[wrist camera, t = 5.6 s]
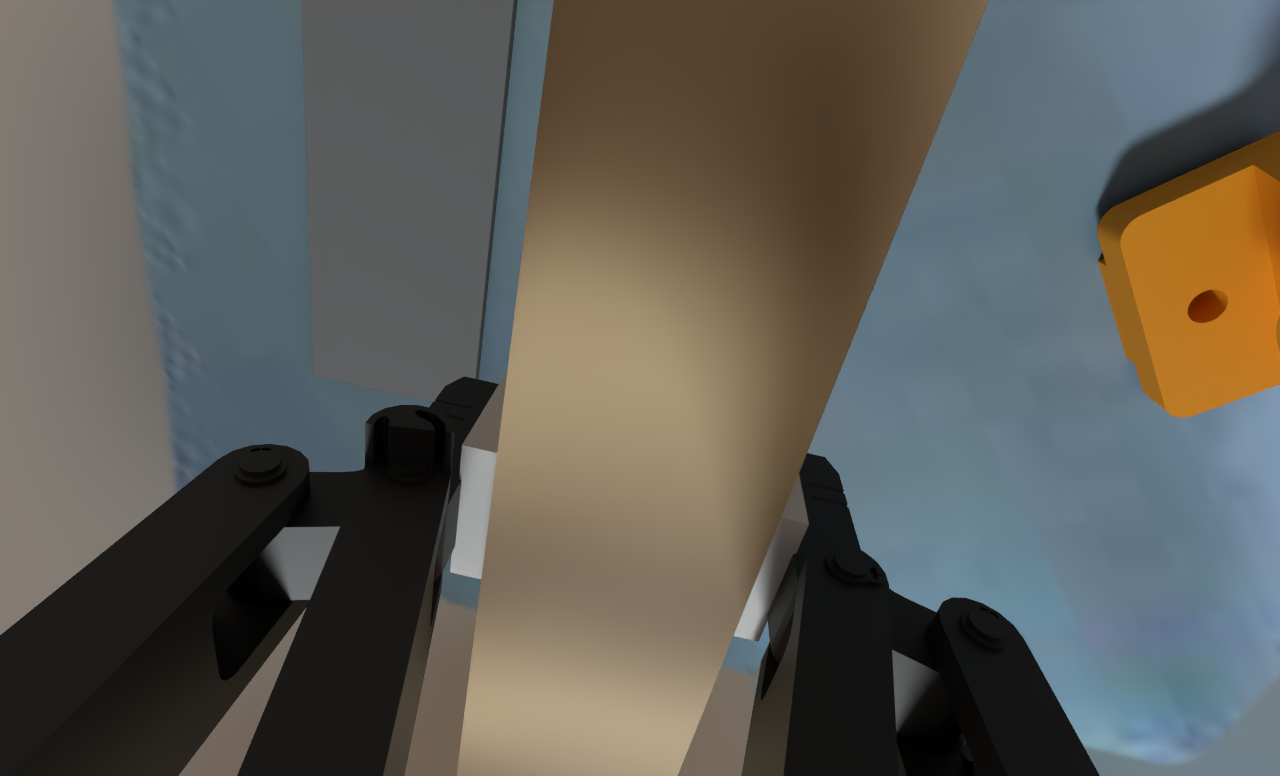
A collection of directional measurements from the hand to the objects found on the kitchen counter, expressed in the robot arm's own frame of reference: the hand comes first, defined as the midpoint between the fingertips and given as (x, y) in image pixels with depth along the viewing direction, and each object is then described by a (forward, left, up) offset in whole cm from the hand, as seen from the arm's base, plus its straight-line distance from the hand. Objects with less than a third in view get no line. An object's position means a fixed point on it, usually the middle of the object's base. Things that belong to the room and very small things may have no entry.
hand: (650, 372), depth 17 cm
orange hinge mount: (-3, +24, -17) cm, 30 cm away
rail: (0, 0, +3) cm, 3 cm away
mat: (0, -13, -17) cm, 22 cm away
